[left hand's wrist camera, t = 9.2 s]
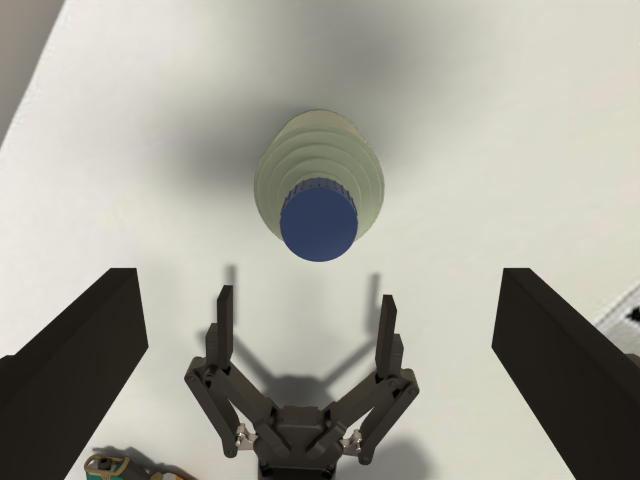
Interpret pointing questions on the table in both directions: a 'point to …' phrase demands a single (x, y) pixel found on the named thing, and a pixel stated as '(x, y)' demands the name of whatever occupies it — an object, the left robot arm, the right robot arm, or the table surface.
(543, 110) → the table surface
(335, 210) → the cap
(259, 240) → the table surface
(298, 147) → the bottle
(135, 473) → the spray gun
